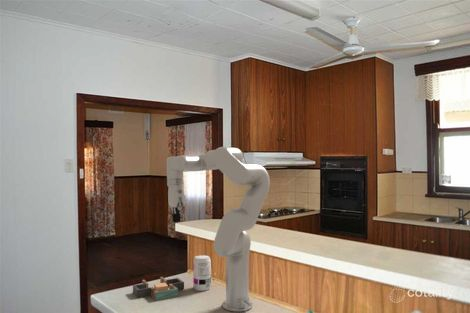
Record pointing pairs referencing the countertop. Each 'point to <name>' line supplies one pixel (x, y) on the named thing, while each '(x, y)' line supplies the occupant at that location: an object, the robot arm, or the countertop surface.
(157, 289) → the block
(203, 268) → the supplement can
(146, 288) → the trap channel
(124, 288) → the countertop surface
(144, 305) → the countertop surface
